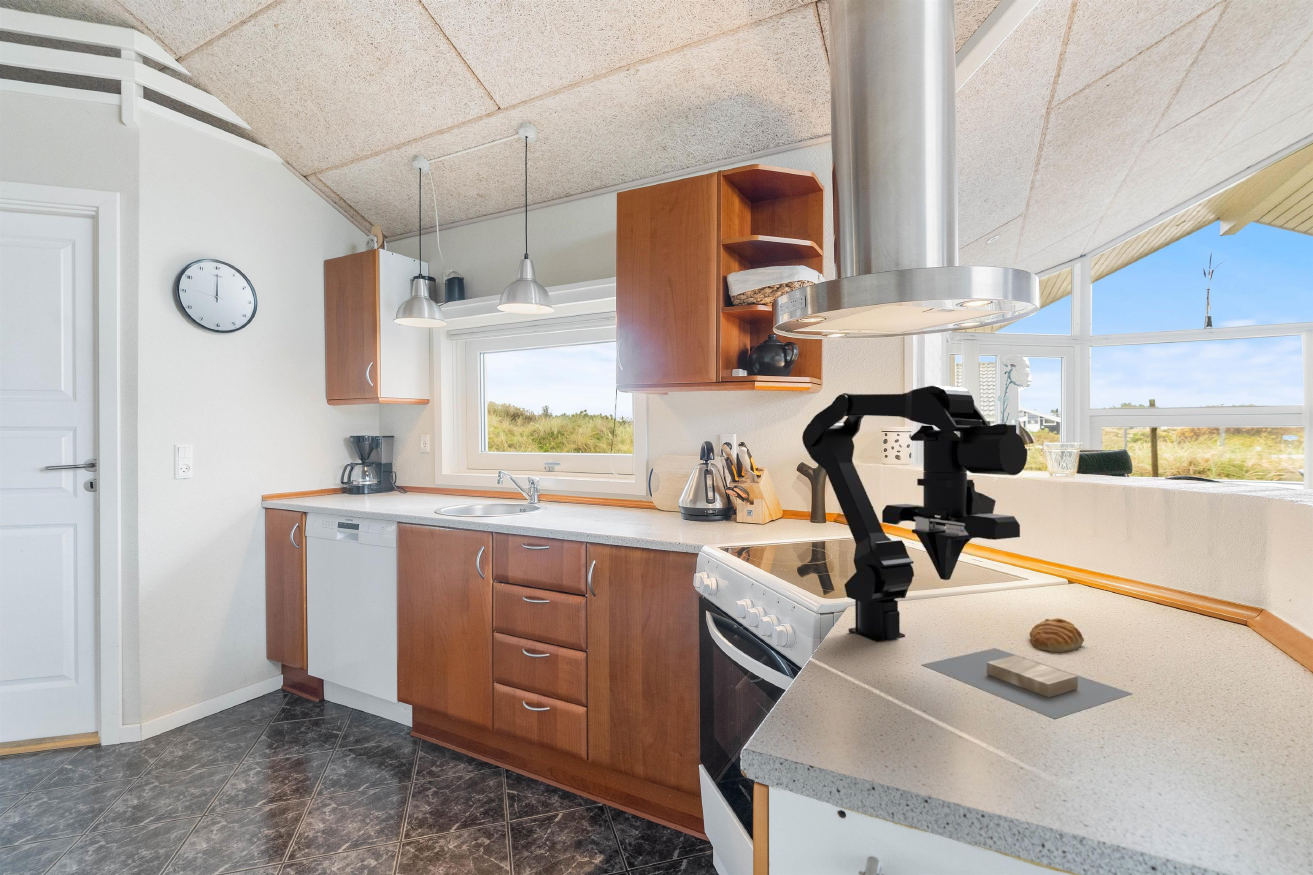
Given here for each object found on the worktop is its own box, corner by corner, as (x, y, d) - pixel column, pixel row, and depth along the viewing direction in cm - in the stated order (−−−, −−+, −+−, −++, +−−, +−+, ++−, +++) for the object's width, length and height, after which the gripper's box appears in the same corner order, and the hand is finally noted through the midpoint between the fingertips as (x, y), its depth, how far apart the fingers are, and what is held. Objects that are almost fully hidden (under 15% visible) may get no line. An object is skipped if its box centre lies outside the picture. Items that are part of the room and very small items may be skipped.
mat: (920, 667, 81) (920, 664, 81) (994, 650, 88) (994, 647, 88) (1054, 722, 65) (1054, 718, 65) (1132, 696, 72) (1132, 693, 72)
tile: (986, 662, 78) (1048, 684, 70) (1015, 655, 80) (1077, 675, 73) (986, 674, 78) (1048, 698, 70) (1015, 667, 80) (1077, 689, 73)
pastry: (1074, 661, 84) (1073, 635, 85) (1021, 650, 89) (1020, 625, 89) (1085, 645, 91) (1084, 621, 91) (1035, 636, 96) (1035, 613, 96)
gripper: (1045, 474, 79) (1045, 588, 79) (928, 468, 96) (929, 562, 95) (992, 475, 74) (992, 597, 74) (879, 469, 91) (879, 568, 91)
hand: (945, 579), depth 84 cm, fingers closed
